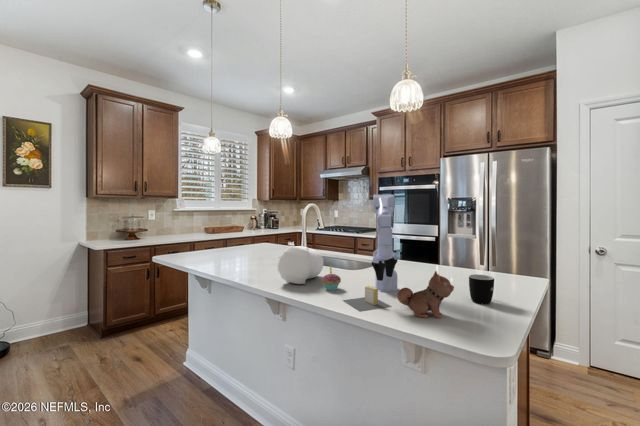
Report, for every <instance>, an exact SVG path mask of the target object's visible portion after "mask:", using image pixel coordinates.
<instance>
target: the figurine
mask: <svg viewBox="0 0 640 426" xmlns="http://www.w3.org/2000/svg"><path fill="white" fill-rule="evenodd" d="M454 289H455V286H454V285H452V284H451V282H450V280H449V279H448V278H447V277H445V276H442V275H440V274H439V273H438V272H437V270H435V271H434V274H433V275H432V276H431V277H430V279H429V281H428V285H427V286H426V288H425V289H422V290H420V291H416V292H413V290H412V289H410V288H409V287H402V288H400V290H398V293H397V300H398V302H399V303H401V304H402V305H405V306H407V307H408V308H409V309H410V310H411V311H412V312H413V313H414V315H415V316H416V317H419V318H424V319H425V318H426V319H427V318H429V314H428V313H427V312H430V311H431V313H432V315H433V316H434V317H435V318H440V319H441V318H442V317H443V314H441V312H440V306H441V304H442V301H444V299H445V298H448V297H450V295H451V293H452V292H454Z"/></svg>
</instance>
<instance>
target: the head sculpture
mask: <svg viewBox="0 0 640 426" xmlns="http://www.w3.org/2000/svg"><path fill="white" fill-rule="evenodd" d="M287 245H288V247H286V249H285V250H284V251H283V252H282V254H281V255H280V257H279V260H278V263H277V271H278V273H279V274H280V277H281V279H282V280H284V281H286V282H289V283H291V284H297V285H304V284H306V281H307V280H308V279H313V278H316V277H317V276H319V275H320V274H321V273H322V271H323V268H324V259H323V255H322V254H321V253H320V252H319V251H318V250H316V249H313V248H311V247H310V248H309V247H308V246H303V245H297V246H295V244H294V243H293V242H291V241H288V242H287Z"/></svg>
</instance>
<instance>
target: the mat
mask: <svg viewBox="0 0 640 426" xmlns="http://www.w3.org/2000/svg"><path fill="white" fill-rule="evenodd" d="M341 301H343V302H344V303H345V304H347V305H349V306H350V307H351V308H353V309H355V310H356V311H358V312H366V311H372V310H381V309H386V308H392V305H390V304H388V303H386V302H384V301H382V300H380V299H378V304H376V305H372V304H370V303H367V302H365V296H364V297H356V298H349V299H342V300H341Z"/></svg>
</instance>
